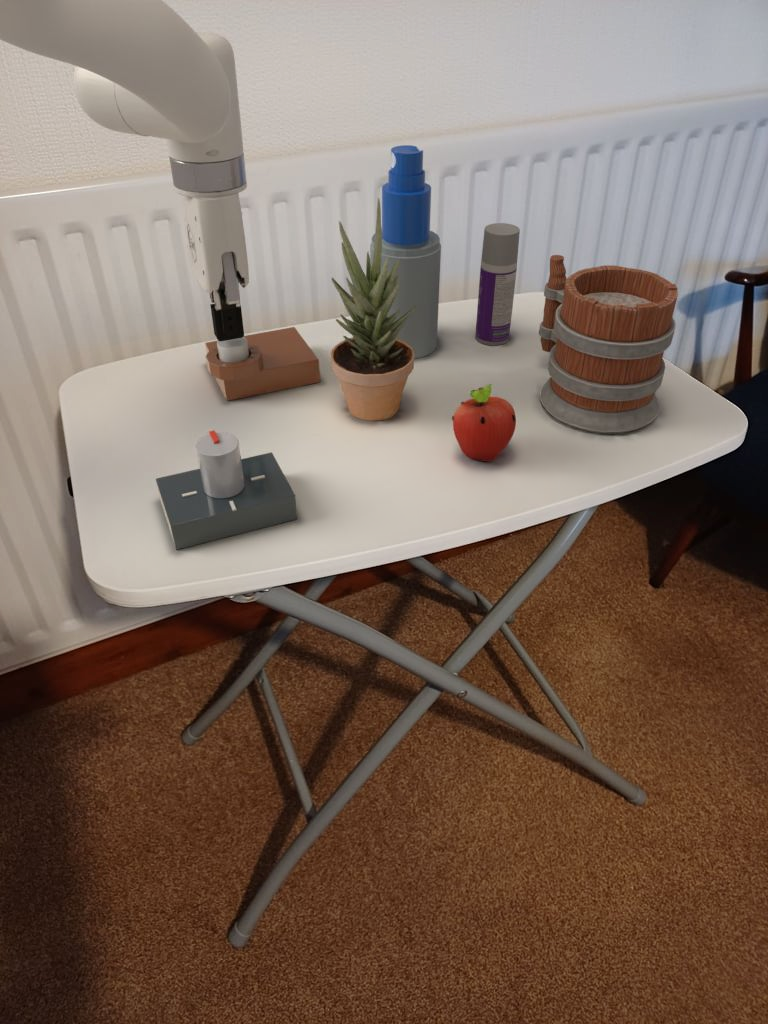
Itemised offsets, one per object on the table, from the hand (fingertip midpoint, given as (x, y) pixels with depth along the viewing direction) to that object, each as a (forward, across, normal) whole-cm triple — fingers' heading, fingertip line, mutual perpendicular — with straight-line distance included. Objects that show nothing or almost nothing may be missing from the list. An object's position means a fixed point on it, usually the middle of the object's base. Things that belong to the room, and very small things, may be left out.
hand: (229, 336), depth 92 cm
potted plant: (+8, +10, +14) cm, 19 cm away
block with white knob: (+7, -3, +4) cm, 9 cm away
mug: (+7, +17, +39) cm, 44 cm away
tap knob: (+5, +23, -7) cm, 24 cm away
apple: (+8, +24, +21) cm, 33 cm away
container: (+7, -1, +36) cm, 37 cm away
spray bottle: (+7, -4, +24) cm, 26 cm away
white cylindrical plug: (+3, 0, 0) cm, 3 cm away
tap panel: (+8, +23, -7) cm, 25 cm away
